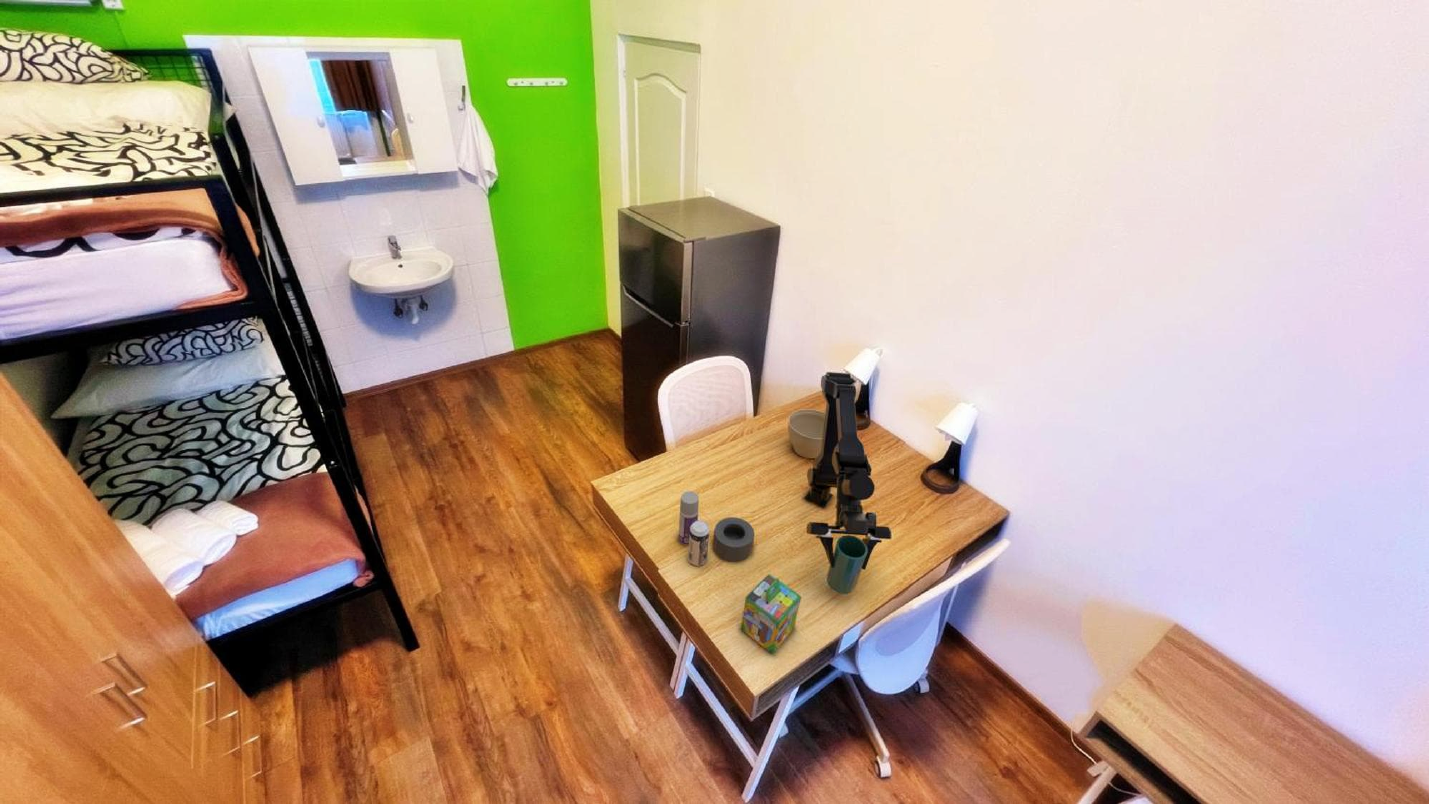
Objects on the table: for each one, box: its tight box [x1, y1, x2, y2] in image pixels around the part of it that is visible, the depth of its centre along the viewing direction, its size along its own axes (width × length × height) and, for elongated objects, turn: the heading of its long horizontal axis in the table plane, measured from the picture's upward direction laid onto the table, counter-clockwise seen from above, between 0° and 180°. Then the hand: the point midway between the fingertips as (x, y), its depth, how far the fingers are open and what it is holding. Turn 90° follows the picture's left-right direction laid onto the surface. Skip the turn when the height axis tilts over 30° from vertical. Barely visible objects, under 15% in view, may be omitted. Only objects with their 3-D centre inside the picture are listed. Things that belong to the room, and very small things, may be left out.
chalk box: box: [740, 573, 802, 655], centre depth 122 cm, size 9×9×15 cm
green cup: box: [826, 534, 868, 595], centre depth 130 cm, size 7×7×12 cm
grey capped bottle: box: [687, 519, 711, 567], centre depth 138 cm, size 5×5×12 cm
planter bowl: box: [787, 408, 825, 459], centre depth 179 cm, size 16×16×11 cm
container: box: [677, 490, 700, 547], centre depth 142 cm, size 5×5×15 cm
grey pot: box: [712, 516, 755, 563], centre depth 144 cm, size 10×10×6 cm
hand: (847, 568), depth 129 cm, fingers closed on green cup, 7 cm apart
